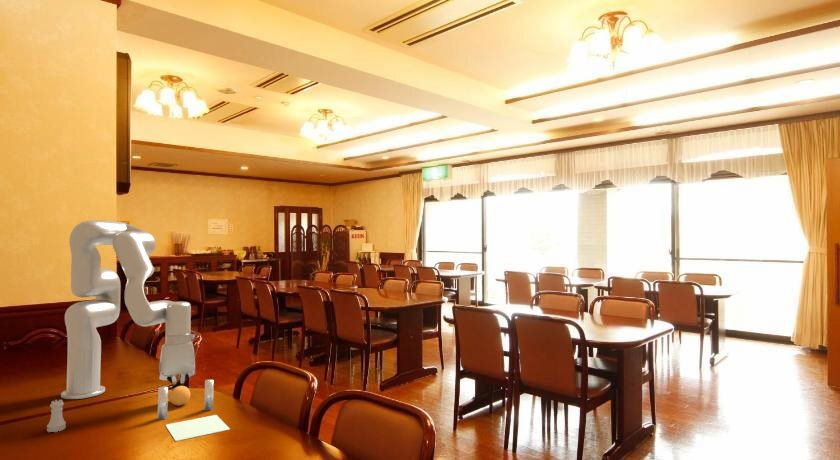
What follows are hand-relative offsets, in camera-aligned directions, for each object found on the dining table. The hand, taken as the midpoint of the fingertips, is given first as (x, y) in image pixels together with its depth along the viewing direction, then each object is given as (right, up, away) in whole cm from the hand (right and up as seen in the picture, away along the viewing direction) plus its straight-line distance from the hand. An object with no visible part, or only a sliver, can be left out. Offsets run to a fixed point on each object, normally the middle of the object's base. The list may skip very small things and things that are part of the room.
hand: (177, 395), depth 163 cm
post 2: (+14, -2, -8) cm, 16 cm away
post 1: (+3, -2, -16) cm, 16 cm away
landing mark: (+17, -2, -23) cm, 29 cm away
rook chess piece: (-21, -1, -26) cm, 33 cm away
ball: (+3, +1, -4) cm, 5 cm away
